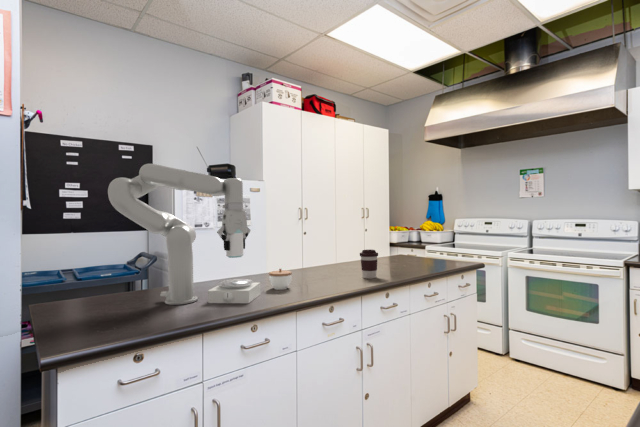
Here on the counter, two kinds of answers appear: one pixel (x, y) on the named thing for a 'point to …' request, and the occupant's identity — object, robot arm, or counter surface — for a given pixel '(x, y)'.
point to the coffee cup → (369, 263)
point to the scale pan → (235, 283)
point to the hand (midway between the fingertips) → (234, 249)
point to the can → (235, 245)
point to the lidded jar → (280, 279)
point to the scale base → (234, 294)
